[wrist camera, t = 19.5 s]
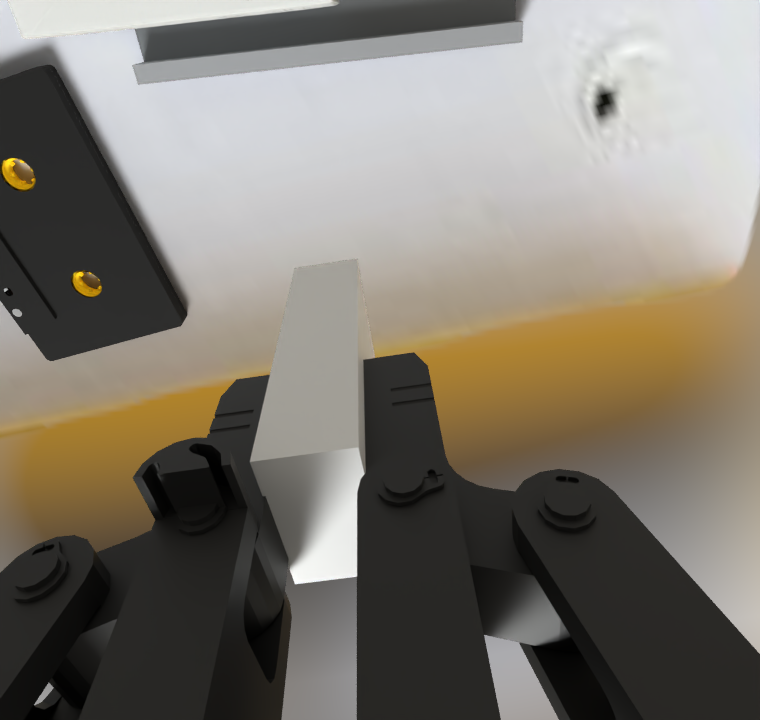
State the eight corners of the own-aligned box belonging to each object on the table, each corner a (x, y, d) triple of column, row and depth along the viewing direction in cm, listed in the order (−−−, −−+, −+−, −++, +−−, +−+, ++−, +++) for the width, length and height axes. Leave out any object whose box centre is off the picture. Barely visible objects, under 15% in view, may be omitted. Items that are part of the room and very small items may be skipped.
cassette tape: (-103, 118, 35) (-129, 124, 33) (57, 62, 34) (39, 65, 32) (59, 349, 45) (46, 364, 43) (190, 313, 43) (182, 327, 41)
